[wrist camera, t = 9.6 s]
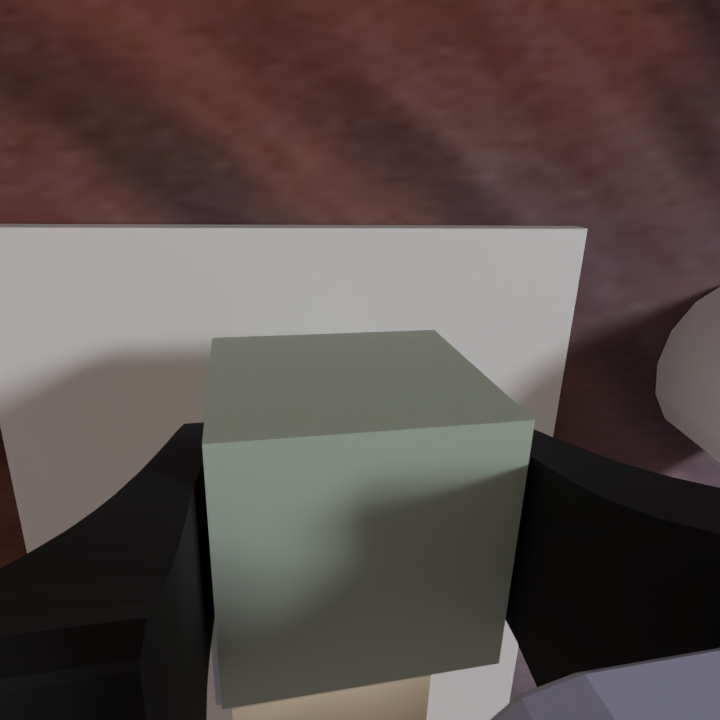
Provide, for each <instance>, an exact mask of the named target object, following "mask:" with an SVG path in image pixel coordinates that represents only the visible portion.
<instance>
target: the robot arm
mask: <svg viewBox="0 0 720 720" xmlns="http://www.w3.org/2000/svg"><path fill="white" fill-rule="evenodd" d="M203 429H204V422H202V423H186V424H183V425H182V426H181V427H180V428H179V429H178V430H177V431H176V432H175V434H174V435H173V436H172V437H171V438H170V439H169V440H168V442H167V443H166V444H165V445H164V446H163V447H162V448H161V449H160V451H159V452H158V453H157V454H156V455H155V456H154V457H153V458H152V459H151V460H150V461H149V462H148V463H147V464H146V465H145V466H144V467H143V469H142V470H141V471H140V472H139V473H138V474H137V475H135V476H134V477H133V478H132V479H131V480H130V481H129V482H128V483H127V484H126V485H125V486H123V487H122V488H121V489H120V490H119V491H118V492H117V493H116V494H115V495H113V496H112V497H111V498H110V499H109V500H107V501H106V502H105V503H104V504H102V505H101V506H100V507H98V508H97V509H96V510H94V511H93V512H92V513H90V514H89V515H87V516H86V517H85V518H83V519H82V520H81V521H79V522H78V523H76V524H75V525H73V526H72V527H70V528H69V529H67V530H66V531H64V532H63V533H61V534H59V535H58V536H56V537H54V538H53V539H51V540H49V541H48V542H46V543H44V544H43V545H41V546H39V547H38V548H36V549H34V550H33V551H31V552H29V553H28V554H26V555H24V556H23V557H21V558H19V559H17V560H16V561H14V562H12V563H10V564H8V565H6V566H4V567H2V568H0V720H206V717H207V683H208V671H209V659H210V651H211V643H212V635H213V627H214V619H215V612H214V598H213V585H212V572H211V558H210V545H209V531H208V518H207V505H206V491H205V478H204V465H203V451H202V439H203ZM505 620H506V622H507V624H508V625H509V627H510V629H511V631H512V633H513V635H514V637H515V639H516V641H517V643H518V645H519V648H520V650H521V652H522V654H523V656H524V659H525V661H526V663H527V665H528V667H529V670H530V672H531V674H532V676H533V679H534V681H535V683H536V685H537V688H534V689H532V690H529V691H526V692H524V693H521V694H519V695H518V696H517V697H516V698H515V699H514V700H512V701H511V702H510V703H509V704H508V705H507V706H506V707H504V708H503V709H502V710H501V711H500V712H499V713H497V714H496V715H495V716H494V717H493V718H492V719H490V720H720V488H718V487H713V486H708V485H704V484H700V483H695V482H691V481H686V480H682V479H677V478H673V477H669V476H665V475H661V474H658V473H654V472H650V471H647V470H644V469H640V468H637V467H634V466H630V465H627V464H624V463H620V462H617V461H614V460H611V459H608V458H605V457H602V456H600V455H597V454H594V453H592V452H589V451H586V450H584V449H581V448H578V447H576V446H573V445H571V444H568V443H566V442H563V441H561V440H558V439H556V438H554V437H551V436H549V435H546V434H544V433H542V432H540V431H537V430H535V429H534V431H533V437H532V444H531V451H530V457H529V464H528V471H527V478H526V484H525V491H524V498H523V504H522V511H521V518H520V525H519V531H518V538H517V545H516V552H515V558H514V565H513V572H512V578H511V585H510V592H509V599H508V605H507V612H506V619H505Z"/></svg>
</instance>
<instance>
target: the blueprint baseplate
mask: <svg viewBox="0 0 720 720" xmlns="http://www.w3.org/2000/svg"><path fill="white" fill-rule="evenodd" d="M586 235H587V229H586V228H582V227H578V226H457V225H175V224H0V428H1V432H2V437H3V442H4V446H5V451H6V456H7V461H8V465H9V470H10V475H11V480H12V484H13V489H14V494H15V498H16V503H17V508H18V513H19V517H20V522H21V527H22V532H23V536H24V541H25V546H26V550H27V554H28V553H29V552H31V551H33V550H34V549H36V548H38V547H39V546H41V545H43V544H44V543H46V542H48V541H49V540H51V539H53V538H54V537H56V536H58V535H59V534H61V533H63V532H64V531H66V530H67V529H69V528H70V527H72V526H73V525H75V524H76V523H78V522H79V521H81V520H82V519H83V518H85V517H86V516H87V515H89V514H90V513H92V512H93V511H94V510H96V509H97V508H98V507H100V506H101V505H102V504H104V503H105V502H106V501H107V500H109V499H110V498H111V497H112V496H113V495H115V494H116V493H117V492H118V491H119V490H120V489H121V488H122V487H123V486H125V485H126V484H127V483H128V482H129V481H130V480H131V479H132V478H133V477H134V476H135V475H137V474H138V473H139V472H140V471H141V470H142V469H143V467H144V466H145V465H146V464H147V463H148V462H149V461H150V460H151V459H152V458H153V457H154V456H155V455H156V454H157V453H158V452H159V451H160V449H161V448H162V447H163V446H164V445H165V444H166V443H167V442H168V440H169V439H170V438H171V437H172V436H173V435H174V434H175V432H176V431H177V430H178V429H179V428H180V427H181V426H182V425H183V424H186V423H202V422H204V418H205V408H206V398H207V388H208V377H209V367H210V357H211V347H212V338H222V337H250V336H278V335H306V334H333V333H361V332H389V331H417V330H435V331H436V332H437V333H438V334H439V335H441V336H442V337H443V338H444V339H445V340H446V341H447V342H448V343H449V344H451V345H452V346H453V347H454V348H455V349H456V350H457V351H458V352H460V353H461V354H462V355H463V356H464V357H465V358H466V359H467V360H468V361H470V362H471V363H472V364H473V365H474V366H475V367H476V368H477V369H479V370H480V371H481V372H482V373H483V374H484V375H485V376H486V377H487V378H489V379H490V380H491V381H492V382H493V383H494V384H495V385H496V386H498V387H499V388H500V389H501V390H502V391H503V392H504V393H505V394H506V395H508V396H509V397H510V398H511V399H512V400H513V401H514V402H515V403H517V404H518V405H519V406H520V407H521V408H522V409H523V410H524V411H525V412H527V413H528V414H529V415H530V416H531V417H532V418H533V419H534V420H535V424H534V429H535V430H537V431H540V432H542V433H544V434H546V435H549V436H551V437H553V434H554V428H555V422H556V416H557V410H558V404H559V398H560V392H561V386H562V380H563V374H564V368H565V362H566V356H567V350H568V344H569V338H570V332H571V326H572V320H573V314H574V308H575V302H576V295H577V289H578V283H579V277H580V271H581V265H582V259H583V253H584V247H585V241H586ZM517 652H518V643H517V641H516V639H515V637H514V635H513V633H512V631H511V629H510V627H509V625H508V624H507V622H506V620H505V626H504V632H503V639H502V646H501V652H500V659H499V663H498V664H492V665H486V666H480V667H474V668H468V669H462V670H456V671H450V672H444V673H438V674H432V675H431V678H430V688H429V698H428V708H427V717H426V720H490V719H492V718H493V717H494V716H495V715H496V714H497V713H499V712H500V711H501V710H502V709H503V708H504V707H506V706H507V705H508V704H509V700H510V694H511V688H512V682H513V676H514V670H515V664H516V658H517ZM206 720H233V716H232V708H228V709H222V705H221V692H220V678H219V665H218V652H217V638H216V625H215V619H214V627H213V635H212V643H211V651H210V659H209V671H208V683H207V717H206Z"/></svg>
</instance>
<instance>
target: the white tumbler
mask: <svg viewBox="0 0 720 720" xmlns="http://www.w3.org/2000/svg"><path fill="white" fill-rule="evenodd" d="M655 395H656V397H657V400H658V402H659V405H660V407H661V410H662V413H663V415H664V418H665V419H666V420H667V421H668V422H670V423H671V424H672V425H673V426H675V427H676V428H677V429H678V430H680V431H681V432H682V433H683V434H685V435H686V436H687V437H689V438H690V439H691V440H692V441H694V442H695V443H696V444H697V445H699V446H700V447H701V448H702V449H704V450H705V451H706V452H707V453H709V454H710V455H711V456H712V457H714V458H715V459H716V460H717V461H719V462H720V287H719V288H717V289H715V290H714V291H712V292H711V293H709V294H707V295H706V296H704V297H703V298H701V299H700V300H698V301H696V302H695V303H694V305H693V306H692V307H691V308H690V309H689V310H688V312H687V313H686V314H685V315H684V316H683V318H682V319H681V320H680V321H679V322H678V323H677V325H676V326H675V327H674V328H673V329H672V330H671V333H670V335H669V337H668V340H667V342H666V344H665V347H664V349H663V351H662V354H661V356H660V358H659V360H658V363H657V376H656V391H655Z"/></svg>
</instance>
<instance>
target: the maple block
mask: <svg viewBox="0 0 720 720" xmlns="http://www.w3.org/2000/svg"><path fill="white" fill-rule="evenodd" d="M430 678H431V675H426V676H420V677H414V678H408V679H402V680H396V681H390V682H384V683H378V684H372V685H366V686H360V687H354V688H348V689H342V690H336V691H330V692H324V693H318V694H312V695H306V696H300V697H294V698H288V699H282V700H276V701H270V702H264V703H258V704H252V705H246V706H240V707H234V708H232V716H233V720H426V717H427V708H428V698H429V688H430Z"/></svg>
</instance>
